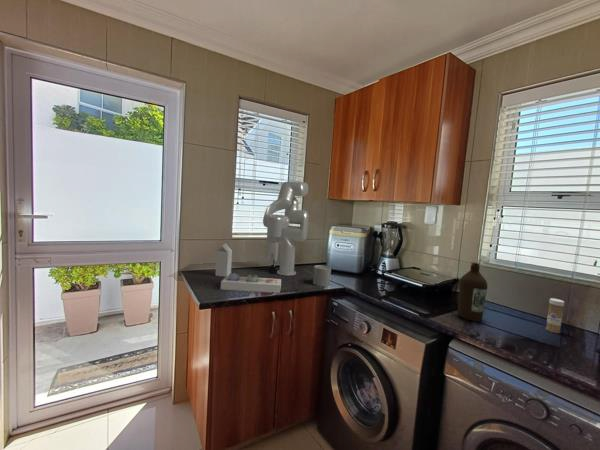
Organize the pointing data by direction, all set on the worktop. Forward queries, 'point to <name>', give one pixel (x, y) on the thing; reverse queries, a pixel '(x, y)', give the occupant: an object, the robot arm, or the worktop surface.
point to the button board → (251, 285)
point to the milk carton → (223, 261)
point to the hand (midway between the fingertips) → (272, 273)
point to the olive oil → (472, 294)
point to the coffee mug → (321, 275)
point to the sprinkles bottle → (555, 315)
